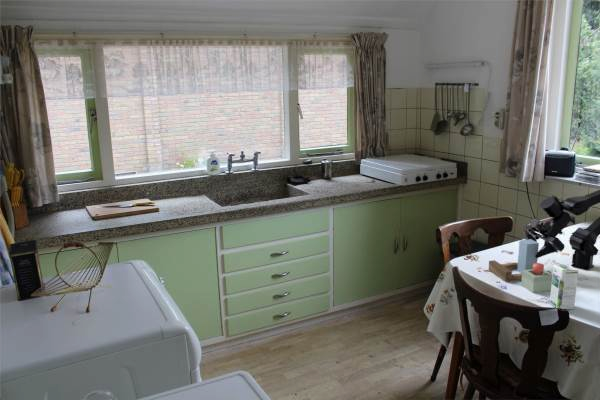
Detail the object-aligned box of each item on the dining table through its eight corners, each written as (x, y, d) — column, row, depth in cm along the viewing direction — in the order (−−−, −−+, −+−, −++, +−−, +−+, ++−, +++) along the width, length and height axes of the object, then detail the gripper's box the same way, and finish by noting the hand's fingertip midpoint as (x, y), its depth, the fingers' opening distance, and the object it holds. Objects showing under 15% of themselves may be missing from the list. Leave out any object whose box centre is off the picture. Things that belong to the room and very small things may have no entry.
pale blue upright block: (528, 269, 208) (531, 239, 205) (536, 274, 203) (538, 243, 200) (517, 270, 207) (519, 240, 204) (524, 275, 202) (527, 244, 199)
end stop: (494, 269, 209) (494, 260, 208) (511, 281, 198) (511, 271, 197) (488, 270, 209) (489, 260, 208) (505, 281, 197) (505, 272, 196)
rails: (531, 265, 212) (532, 261, 211) (550, 276, 200) (551, 271, 200) (494, 269, 209) (494, 265, 209) (511, 281, 198) (511, 276, 197)
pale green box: (540, 283, 195) (541, 268, 193) (552, 290, 188) (553, 275, 187) (521, 285, 194) (522, 270, 192) (532, 292, 187) (533, 277, 185)
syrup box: (548, 303, 178) (552, 264, 175) (565, 302, 179) (569, 263, 175) (558, 311, 173) (562, 270, 169) (574, 309, 173) (579, 269, 170)
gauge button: (539, 270, 191) (539, 262, 191) (545, 273, 188) (546, 266, 187) (530, 271, 191) (531, 263, 190) (536, 274, 187) (537, 267, 187)
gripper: (530, 205, 209) (503, 233, 210) (560, 218, 191) (531, 248, 192) (545, 222, 212) (519, 250, 213) (577, 236, 194) (548, 266, 195)
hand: (528, 253), depth 203 cm, fingers open, 9 cm apart
